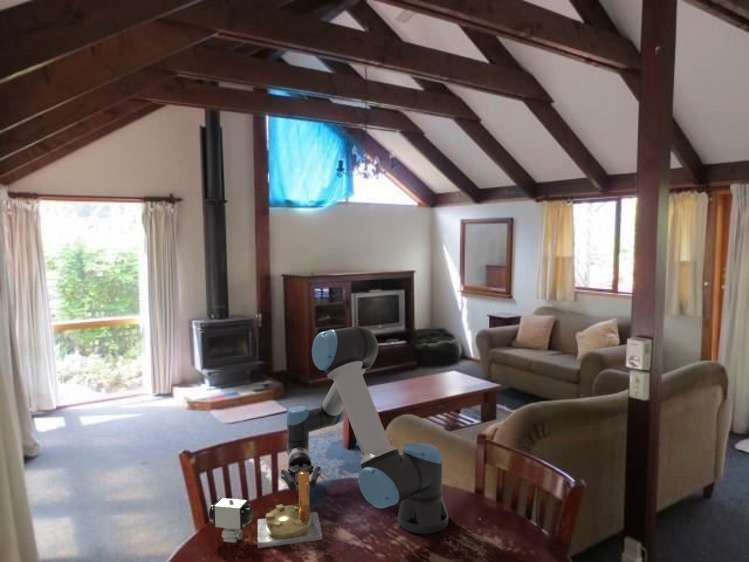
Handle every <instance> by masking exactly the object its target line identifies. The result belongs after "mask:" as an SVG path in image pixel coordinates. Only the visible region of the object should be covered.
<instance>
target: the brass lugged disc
mask: <svg viewBox="0 0 749 562" xmlns="http://www.w3.org/2000/svg"><path fill="white" fill-rule="evenodd" d="M298 479H299V494H298V502H297V503H296V504H294V505H293V504H290V505H289V504H288V505H283V504H281V503H280V504H278V505H276V506H275V509H273V510H271V511H269V512H268V513H266V514H265V518H266V529H267V532H268V533H269V534H270V535H271V536H274V537H277V538H292V537H297V536H300V535H302V534H304V533H305V532H307V531H308V530H309V529H310V527H311V513H312V511H311V506H310V505H311V503H310V493H309V481H310V475H309V472H308V471H305V470H304V471H300V472H299V473H298Z"/></svg>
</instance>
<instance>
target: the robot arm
mask: <svg viewBox="0 0 749 562" xmlns="http://www.w3.org/2000/svg"><path fill="white" fill-rule="evenodd" d="M378 351H379V344H378V340H377V338H376V335H375V334H374V333H373V332H372V331H371V330H370V329H368V328H367V327H364V326H358V325H357V326H351V327H350V326H349V327H345V328H336V329H328V330H325V331H321V332H319V333H318V334H317V335H316V336H315V337H314V339H313V341H312V347H311V356H312V357H311V358H312V361H313V364H314V366H315V367H316V368H317V369H318V370H320V371H325V373H326V376H327V378H328V379H330V380H333V384H332V385H331V387H330V389H329V391H328V393H327V394H326V396H325V398H324V399H323V402H322V404H321V405H320V407H316V408H312V409H309V408H308V407H307V406H303V405H298V406H297V405H296V406H292V407H289V408H288V410H287V413H286V414H287V415H286V428H287V429H286V430H287V442H286V443H287V446H286V453H287V459H288V460H287V462H288V464H287V465H288V468H287V469H286V470H285V469H280V478H281V479H282V480H284V482H285V483H286V485H287V486H288V489H289V490H291V491H292V490H295V493H296V494H297V495H299V479H298V473H299V472H300V471H304V470H305V471H308V472H309V476H310V475H311V479H310V480H309V494H310V493H311V488H312V489H314V488H316V486H317V485H316V484H317V483H318V478H319V477H320V476H321V475H322V473H321V471H322V470H321V466H316V467H314V465H312V459H311V454H310V443H309V442H310V441H309V440H310V439H309V438H310V432H311V433H312V432H315V431H318V430H321V429H326V428H329V427H334V426H335V425H338V424H341V423H342V422H343V420H344V419H345V417H344V415H345V412H346V415H347V417H348V420H349V423H350V425H351V428H352V431H353V434H354V437H355V439H356V441H357V444H358V446H359V449H360V452H361V454H362V458H361V461H360V467H361V470H360V472H359V473H358V486H359V489H360V492H361V494H362V496H363V497H364V499H365V500H366V501H367V503H369V504H370V505H372V506H373V507H374V508H378V509H385V508H389V507H393V506H394V505H396V504H398V503H400V506H399V509H398V512H397V519H398V520H397V522H398V524H399V526H400V527H401V528H402V529H404V530H406V531H407V532H410V533H414V534H420V535H430V534H431V535H432V534H435V532H436V533H439V532H441V531H443V530H444V529H446V527H447V526H448V525H449V513H448V510H447V507H446V503H445V501H444V498H443V461H442V452H441V450H440V448H438V447H436V446H435V445H432V444H428V443H422V442H409V443H406V444H404V445H403V447H402V449H401V450H402V454H400V452H399V449H398V448H397V447H396V446H393V445H391V443H390V441H389V439H388V436H387V434H386V431H385V429H384V426H383V424H382V421H381V418H380V416H379V414H378V411H377V408H376V406H375V404H374V401H373V398H372V396H371V394H370V391H369V388H368V385H367V384H366V381H365V379H364V373H365V371H366V370H369V369H370V368H371V367H372V366H373V364H374V362H375V361H376V358H377V356H378ZM344 410H345V412H344ZM293 478H294V479H293Z"/></svg>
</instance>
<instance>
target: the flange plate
mask: <svg viewBox="0 0 749 562" xmlns="http://www.w3.org/2000/svg"><path fill="white" fill-rule="evenodd" d="M320 540H323V533H322V528H321V523H320V519H319V514H318V512H317V511H314V512H311V527H310V529H309V530H308V531H307V532H305V533H304V534H302V535H300V536H297V537H292V538H277V537H274V536H271V535H270V534H269V533H268V532H267V529H266V517H265V518H258V519H257V549H262V548H263V549H264V548H268V547H276V546H282V545H289V544H290V545H292V544H299V543H306V542H311V541H320Z"/></svg>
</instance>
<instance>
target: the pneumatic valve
mask: <svg viewBox="0 0 749 562" xmlns="http://www.w3.org/2000/svg"><path fill="white" fill-rule="evenodd" d="M254 513H255V511H254V508H253V507H252V506H251V504H250V501H249V500H246V499H240V498H237V499H236V498H224V497H220V498H219V499H218V500H216V502H215V503H213V504H212V505H210V508H209V511H208V518H209V520H210V521H212V524H213V528H222V529H223V530H222V533H221V537H222V539H223V542H224V543H231V544H235V543H237V542H238V540H239V541H240V540H241V539H242V536H243V531H242V530H244V529H245V528H246V526H247V525H248V524H251V523H252V521H253V519H254Z"/></svg>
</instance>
